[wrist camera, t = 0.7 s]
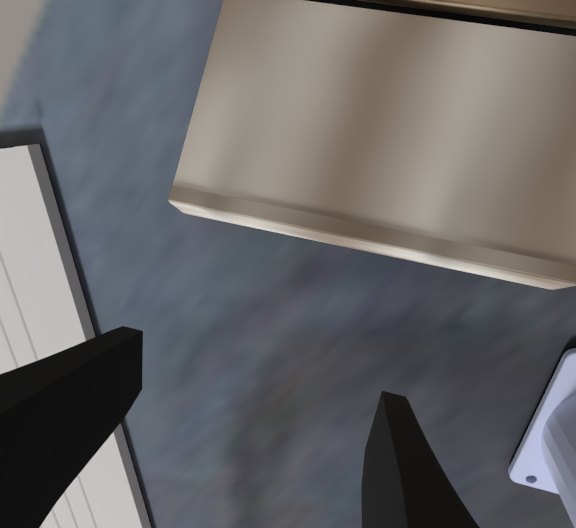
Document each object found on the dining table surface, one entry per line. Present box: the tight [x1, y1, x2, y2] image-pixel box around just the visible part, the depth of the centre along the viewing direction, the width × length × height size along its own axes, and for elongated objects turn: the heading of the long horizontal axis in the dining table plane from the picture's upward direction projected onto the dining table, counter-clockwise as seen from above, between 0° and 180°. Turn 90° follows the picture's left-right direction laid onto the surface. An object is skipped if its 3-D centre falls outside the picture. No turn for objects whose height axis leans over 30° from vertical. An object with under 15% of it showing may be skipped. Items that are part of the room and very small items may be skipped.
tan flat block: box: [168, 0, 576, 290], centre depth 15 cm, size 13×8×2 cm, turn 81°
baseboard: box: [0, 144, 151, 528], centre depth 27 cm, size 31×3×12 cm
